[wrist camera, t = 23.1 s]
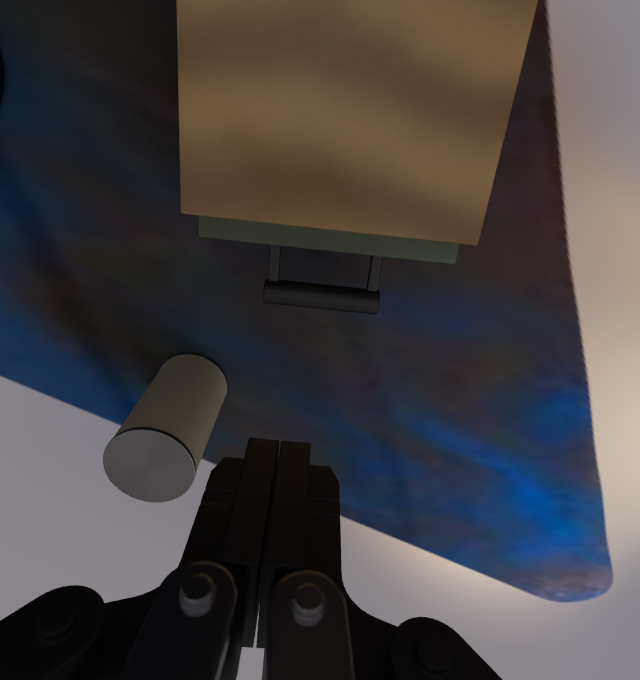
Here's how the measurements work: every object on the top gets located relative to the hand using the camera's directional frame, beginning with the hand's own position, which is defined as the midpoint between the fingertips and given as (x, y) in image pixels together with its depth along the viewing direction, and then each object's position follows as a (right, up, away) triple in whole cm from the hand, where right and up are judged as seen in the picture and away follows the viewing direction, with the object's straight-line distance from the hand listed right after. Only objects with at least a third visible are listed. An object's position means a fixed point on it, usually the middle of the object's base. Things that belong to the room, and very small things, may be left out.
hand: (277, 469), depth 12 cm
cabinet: (+2, +19, +17) cm, 25 cm away
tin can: (-9, 0, +26) cm, 27 cm away
